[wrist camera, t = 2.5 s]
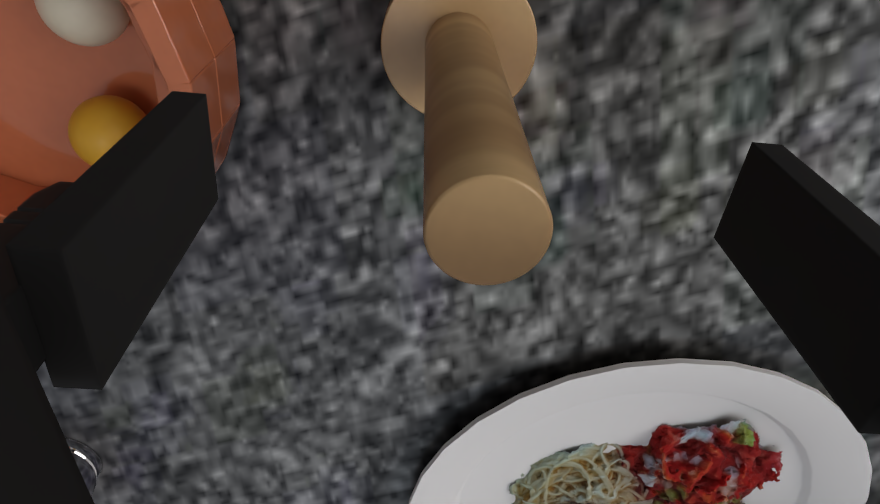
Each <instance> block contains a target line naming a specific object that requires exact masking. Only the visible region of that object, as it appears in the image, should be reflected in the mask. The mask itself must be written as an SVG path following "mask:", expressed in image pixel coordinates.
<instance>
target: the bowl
mask: <svg viewBox="0 0 880 504" xmlns="http://www.w3.org/2000/svg"><path fill="white" fill-rule="evenodd" d="M119 1H120V2H121V3H122V4H123V5H124V7H125V9H126V11H127V13H128V15H129V17H130V21H129V24H128V26H127V28H126V29H125V31H124V32H123V33H122V34H121V35H120V36H119V37H118V38H117V39H116V40H114V41H112V42H110V43H108V44H105V45H101V46H82V45H77V44H74V43H71V42H69V41H67V40H65V39H63V38H61V37H59V36H58V35H57V34H55V33H54V32H53V31H52V30H51V29H50V28H49V27H48V26H47V25H46V24H45V23H44V21H43V20H42V19H41V17H40V15H39V13H38V11H37V9H36V6H35V3H34V0H0V223H3V219H5V218H6V217H7V216H8V215H9V214H10V213H12V212H13V211H17V207H19V206H20V205H21V204H22V203H23V202H24V201H25V200H27V199H28V198H29V197H30V196H31V195H32V194H34V193H35V192H38V191H40V190H42V189H44V188H46V187H49V186H51V185H53V184H55V183H57V182H60V181H62V182H75V181H76V180H77V179H78V178H79V177H80V176H81V175H82V174H83V173H84V172H85V171H86V170H88V169H89V168H90V167H91V165H89V164H87V163H86V162H85V161H83V160H82V159H81V158H80V157H79V156H78V155H77V154H76V152H75V151H74V149H73V147H72V145H71V143H70V140H69V136H68V123H69V120H70V117H71V115H72V113H73V111H74V110H75V109H76V108H77V107H78V106H79V105H80V104H81V103H82V102H84V101H86V100H87V99H90V98H92V97H96V96H101V95H113V96H118V97H122V98H124V99H127V100H129V101H131V102H132V103H134V104H135V105H137V106H138V107H139V108H140V109H141V110H142V111H143V112H144V113H145V114H146V115H147V114H148V113H149V112H150V111H151V110H152V109H153V108H154V107H156V106H157V105H158V104H159V103H160V102H161V101H162V100H163V99H164V98H165V97H166V96H167V95H168V94H170V93H171V92H172V91H179V92H191V93H202V94H206V96H207V105H208V114H209V123H210V131H211V140H212V149H213V158H214V167H215V173H216V172H217V170H218V169H219V167H220V165H221V164H222V162H223V161H224V159H225V157H226V155H227V152H228V148H229V144H230V140H231V137H232V133H233V129H234V125H235V122H236V118H237V114H238V110H239V107H240V93H239V81H238V70H237V58H236V46H235V39H234V35H233V32H232V29H231V27H230V24H229V22H228V19H227V17H226V14H225V12H224V9H223V7H222V4H221V2H220V0H119Z"/></svg>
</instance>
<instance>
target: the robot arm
mask: <svg viewBox="0 0 880 504" xmlns="http://www.w3.org/2000/svg"><path fill="white" fill-rule="evenodd" d="M217 200H218V193H217V184H216V176H215V167H214V158H213V149H212V140H211V131H210V123H209V114H208V105H207V96H206V94H202V93H191V92H179V91H172V92H171V93H170V94H168V95H167V96H166V97H165V98H164V99H163V100H162V101H161V102H160V103H159V104H158V105H157V106H156V107H154V108H153V109H152V110H151V111H150V112H149V113H148V114H147V115H146V116H145V117H144V118H143V119H141V120H140V121H139V122H138V123H137V124H136V125H135V126H134V127H133V128H132V129H131V130H130V131H129V132H127V133H126V134H125V135H124V136H123V137H122V138H121V139H120V140H119V141H118V142H117V143H116V144H115V145H113V146H112V147H111V148H110V149H109V150H108V151H107V152H106V153H105V154H104V155H103V156H102V157H101V158H99V159H98V160H97V161H96V162H95V163H94V164H93V165H92V166H91V167H90V168H89V169H88V170H86V171H85V172H84V173H83V174H82V175H81V176H80V177H79V178H78V179H77V180H76V181H75V182H62V181H60V182H57V183H55V184H53V185H51V186H49V187H46V188H44V189H42V190H40V191H38V192H35V193H34V194H32V195H31V196H30V197H29V198H28V199H27V200H25V201H24V202H23V203H22V204H21V205H20V206H19V207H17V211H13V212H12V213H10V214H9V215H8V216H7V217H6V218H5V219H3V223H0V504H94V502H93V499H92V497H91V495H90V493H89V490H88V488H87V486H86V484H85V482H84V479H83V477H82V475H81V473H80V470H79V468H78V466H77V464H76V461H75V459H74V457H73V455H72V452H71V450H70V448H69V446H68V443H67V441H66V439H65V437H64V435H63V432H62V430H61V428H60V426H59V423H58V421H57V419H56V417H55V414H54V412H53V410H52V408H51V405H50V403H49V401H48V399H47V396H46V394H45V392H44V390H43V388H42V385H41V383H40V381H39V379H38V376H37V374H36V371H37V370H38V369H39V367H40V366H41V365H42V363H43V362H44V361H45V363H46V366H47V369H48V372H49V375H50V378H51V381H52V384H53V386H54V387H63V388H81V389H99V390H102V389H103V387H104V385H105V384H106V382H107V380H108V379H109V377H110V375H111V374H112V372H113V371H114V369H115V367H116V366H117V364H118V362H119V361H120V359H121V357H122V356H123V354H124V352H125V351H126V349H127V348H128V346H129V344H130V343H131V341H132V339H133V338H134V336H135V334H136V333H137V331H138V330H139V328H140V326H141V325H142V323H143V321H144V320H145V318H146V316H147V315H148V313H149V311H150V310H151V308H152V307H153V305H154V303H155V302H156V300H157V298H158V297H159V295H160V293H161V292H162V290H163V289H164V287H165V285H166V284H167V282H168V280H169V279H170V277H171V275H172V274H173V272H174V270H175V269H176V267H177V266H178V264H179V262H180V261H181V259H182V257H183V256H184V254H185V252H186V251H187V249H188V248H189V246H190V244H191V243H192V241H193V239H194V238H195V236H196V234H197V233H198V231H199V229H200V228H201V226H202V225H203V223H204V221H205V220H206V218H207V216H208V215H209V213H210V211H211V210H212V208H213V207H214V205H215V203H216V202H217ZM714 238H715V240H716V241H717V242H718V244H719V245H720V246H721V248H722V249H723V251H724V252H725V253H726V255H727V256H728V257H729V259H730V260H731V261H732V263H733V264H734V265H735V267H736V268H737V269H738V271H739V272H740V274H741V275H742V276H743V278H744V279H745V280H746V282H747V283H748V284H749V286H750V287H751V288H752V290H753V291H754V292H755V294H756V295H757V297H758V298H759V299H760V301H761V302H762V303H763V305H764V306H765V307H766V309H767V310H768V311H769V313H770V314H771V315H772V317H773V318H774V320H775V321H776V322H777V324H778V325H779V326H780V328H781V329H782V330H783V332H784V333H785V334H786V336H787V337H788V338H789V340H790V341H791V343H792V344H793V345H794V347H795V348H796V349H797V351H798V352H799V353H800V355H801V356H802V357H803V359H804V360H805V361H806V363H807V364H808V366H809V367H810V368H811V370H812V371H813V372H814V374H815V375H816V376H817V378H818V379H819V380H820V382H821V383H822V384H823V386H824V387H825V389H826V390H827V391H828V393H829V394H830V395H831V397H832V398H833V399H834V401H835V402H836V403H837V405H838V406H839V407H840V409H841V410H842V412H843V413H844V414H845V416H846V417H847V418H848V420H849V421H850V422H851V424H852V425H853V426H854V428H855V429H856V430H857V432H858V433H870V434H880V226H879V225H878V224H877V223H876V222H874V221H873V220H872V219H871V218H870V217H868V216H867V215H866V214H865V213H864V212H862V211H861V210H860V209H859V208H858V207H856V206H855V205H854V204H853V203H852V202H850V201H849V200H848V199H847V198H845V197H844V196H843V195H842V194H841V193H839V192H838V191H837V190H836V189H835V188H833V187H832V186H831V185H830V184H829V183H827V182H826V181H825V180H824V179H823V178H821V177H820V176H819V175H818V174H817V173H815V172H814V171H813V170H812V169H810V168H809V167H808V166H807V165H806V164H804V163H803V162H802V161H801V160H800V159H798V158H797V157H796V156H795V155H794V154H792V153H791V152H790V151H789V150H788V149H786V148H785V147H784V146H783V145H778V144H766V143H755V142H752V144H751V146H750V149H749V151H748V154H747V156H746V159H745V161H744V164H743V166H742V169H741V171H740V174H739V176H738V179H737V181H736V184H735V186H734V188H733V191H732V193H731V196H730V198H729V201H728V203H727V206H726V208H725V211H724V213H723V216H722V218H721V221H720V223H719V226H718V228H717V231H716V233H715V236H714Z"/></svg>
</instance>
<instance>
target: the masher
mask: <svg viewBox="0 0 880 504" xmlns="http://www.w3.org/2000/svg"><path fill="white" fill-rule="evenodd" d="M536 50H537V29H536V23H535V19H534V15H533V12H532V10H531V8H530V5H529V3H528V1H527V0H390V2H389V5H388V7H387V10H386V14H385V18H384V22H383V26H382V32H381V54H382V61H383V64H384V68H385V71H386V73H387V75H388V78H389V80H390V82H391V83H392V85H393V87H394V88H395V90H396V91H397V92H398V93H399V95H400V96H401V97H402V98H403V99H404V100H405V101H406V102H407V103H408V104H410V105H411V106H412V107H414V108H415V109H417V110H418V111H420V112H422V113H424V205H423V237H424V243H425V247H426V250H427V252H428V254H429V256H430V257H431V259H432V260H433V262H434V263H435V264H436V265H437V266H438V267H439V268H440V269H441V270H442V271H443V272H445V273H446V274H448V275H449V276H451V277H453V278H455V279H457V280H459V281H462V282H465V283H469V284H475V285H496V284H501V283H505V282H508V281H511V280H514V279H516V278H518V277H520V276H522V275H524V274H525V273H527V272H528V271H529V270H531V269H532V268H533V267H534V266H535V265H536V264H537V263H538V262H539V261H540V260H541V259H542V257H543V256H544V254H545V253H546V251H547V249H548V247H549V244H550V241H551V238H552V233H553V219H552V214H551V211H550V208H549V205H548V202H547V199H546V196H545V193H544V190H543V187H542V184H541V181H540V178H539V175H538V172H537V169H536V166H535V163H534V160H533V157H532V155H531V152H530V149H529V146H528V143H527V140H526V137H525V134H524V131H523V128H522V125H521V122H520V119H519V116H518V113H517V110H516V107H515V104H514V101H513V97H514V96H515V95H516V94H517V93H518V92H519V91H520V89H521V88H522V87H523V85H524V84H525V82H526V80H527V78H528V76H529V75H530V72H531V70H532V67H533V64H534V60H535V56H536Z"/></svg>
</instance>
